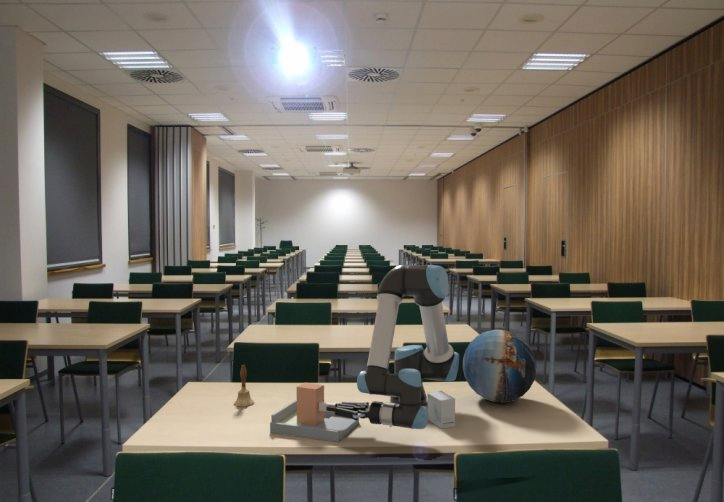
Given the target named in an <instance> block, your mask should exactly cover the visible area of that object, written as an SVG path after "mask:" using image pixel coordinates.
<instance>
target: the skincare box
mask: <svg viewBox="0 0 724 502" xmlns="http://www.w3.org/2000/svg"><path fill="white" fill-rule="evenodd" d="M426 396H427V409H428V421H429V422H430V423H432V424H434V425H435V426H437V427H438V428H440V429H444V428H445V429H447V428H452V427H456V398H455V397H453V396H451V395H449V394H448V393H446V392H445V391H443V390H437V391H431V392H427V394H426Z"/></svg>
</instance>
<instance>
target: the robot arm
mask: <svg viewBox="0 0 724 502" xmlns="http://www.w3.org/2000/svg"><path fill="white" fill-rule="evenodd" d="M449 286H450V285H449V276H448V273H447V271H446V269H445V268H444V267H443V266H441V265H435V264H427V265H424V264H422V265H421V264H400V265H397V266H395V267H393V268H392V269H390V270H389V271H388V272H387V274H386V275H384V277H383V279H381V282H380V283H379V287H378V289H377V294H376V299H377V300H378V304H377V309H376V314H375V320H374V325H373V331H372V337H371V341H370V347H369V352H368V360H367V363H366V370H360V372H359V373H358V376H357V378H356V386H357V389H358V391H359V392H360V393H362V394H368V395H371V396H372V395H376V396H384V397H386V396H387V397H390V398H389V399H390V402H387V401H385V402H383V401H377V400H374V401H373V400H372V401H371V403H370V402H368V401H366V402H365V401H364V402H356V401H355V402H353V401H352V402H351V401H342V402H337V403H334V402H327V401H326V402H325V401H324V402H320V403H319V411H327V412H335V415H337V416H342V417H346V418H351V419H354V420H358V418H359V419H368V420H369V423H370V424H373V425H383V426H389V427H390V428H392V427H398V428H399V427H400V428H407V429H410V430H424V429H425V428H426V427H427V425H428V422H429V420H428V406H425V405H427V404H428V398H427V394H426V391H425V388H424V384H423V380H431V381H439V382H453V381H455V380H456V378H457V374H458V371H459V365H460V354H459V352H456V351H455V350H454V348H453V346H452V345H451V344H450V343H449V339H448V334H447V333H448V331H447V326H446V319H445V313H444V307H443V302H444V301H445V298H446V297H447V296H448V294H449V290H450V289H449V288H450V287H449ZM404 297H413V300H414V302H415V304H416V305H418V307H419V310H420V311H419V312H420V315H421V316H420V317H421V321H422V322H421V323H422V328H423V333H424V338H425V339H424V340H425V344H426V348H425V349H424V346H422V345H421V344H411V345H404V346H400V347H398V348H396V349H395V351H394V358H393V359H394V361H393V362H394V364H393V365H394V373H389V365H390V360H391V355H392V354H391V352H392V348H393V342H394V337H395V330H396V329H395V328H396V325H397V319H398V313H399V306H400V305H401V304H402V303H403V299H404Z"/></svg>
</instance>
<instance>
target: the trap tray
mask: <svg viewBox="0 0 724 502" xmlns="http://www.w3.org/2000/svg"><path fill="white" fill-rule="evenodd" d="M270 416H271V419H270V420H271V422H270V423H269V433H271V434H278V435H285V436H294V437H298V438H299V437H300V438H306V439H314V440H320V441H327V442H328V441H329V442H335V443H339V442H340V441H341V440H342V439H343V438H344V437H346V436H347V435H348V434H349V433H350V432H351V431H352V430H353V429H354V428H355V427H356V426H357V425H358V424H360V418H358V420H354V419H351V418H346V417H342V416H337V415H335V412H327V411H324V421H323V422H321V423H320V424H318V425H316V426H315V425H309V424H303V423H297V399H295V400H292V401H291V402H290V403H288V404H286V405H284V406H283V407H282V408H280V409H278V410H277V411H275V412H274V413H272V414H271V415H270Z"/></svg>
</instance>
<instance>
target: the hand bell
mask: <svg viewBox="0 0 724 502" xmlns="http://www.w3.org/2000/svg"><path fill="white" fill-rule="evenodd" d="M239 371H240V372H239V375H240V380H241V389H239V390H238V391H237V397H236V400H235V401H234V402H233V405H234V407H238V406H239V408H241V407H242V408H243V407H249V406H252V405H254V404H255V401H254V399H252V397H251V393H250V390H249V389H247V388H246V387H247V386H246V385H247V384H246V380H247V375H248V373H247V368H246V365H245V364H241V367H240V370H239Z"/></svg>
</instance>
